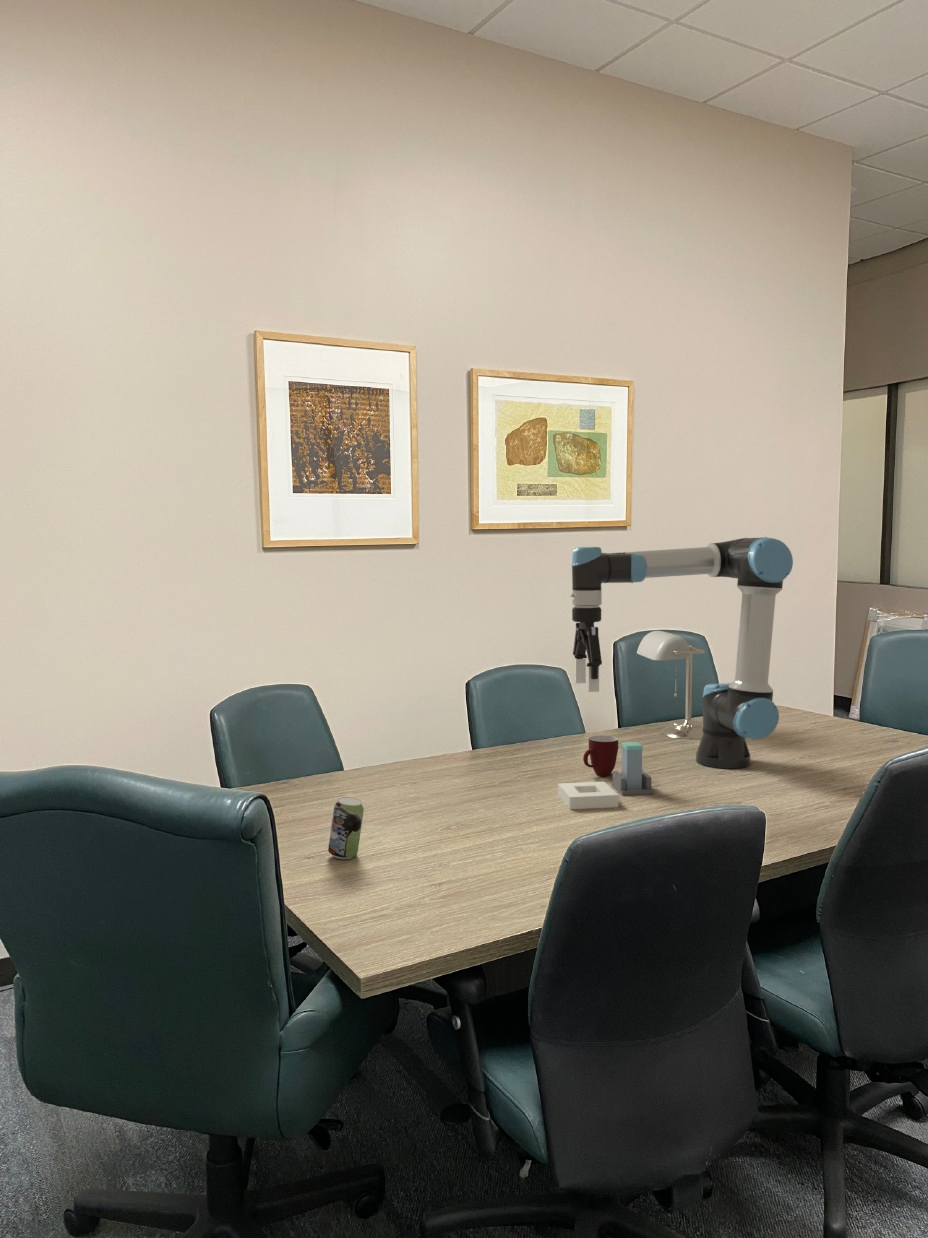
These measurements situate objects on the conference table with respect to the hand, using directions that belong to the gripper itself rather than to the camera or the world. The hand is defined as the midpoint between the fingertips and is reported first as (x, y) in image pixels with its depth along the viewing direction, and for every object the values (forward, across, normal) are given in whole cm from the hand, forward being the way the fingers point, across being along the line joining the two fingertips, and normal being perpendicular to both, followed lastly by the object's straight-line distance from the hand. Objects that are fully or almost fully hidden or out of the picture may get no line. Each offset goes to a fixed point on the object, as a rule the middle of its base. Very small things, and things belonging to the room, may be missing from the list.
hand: (586, 687), depth 229 cm
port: (+26, +15, -4) cm, 30 cm away
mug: (+26, -8, +6) cm, 28 cm away
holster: (+26, +7, +10) cm, 29 cm away
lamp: (+26, -55, +46) cm, 76 cm away
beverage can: (+26, +46, -62) cm, 82 cm away
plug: (+26, +7, +10) cm, 29 cm away
